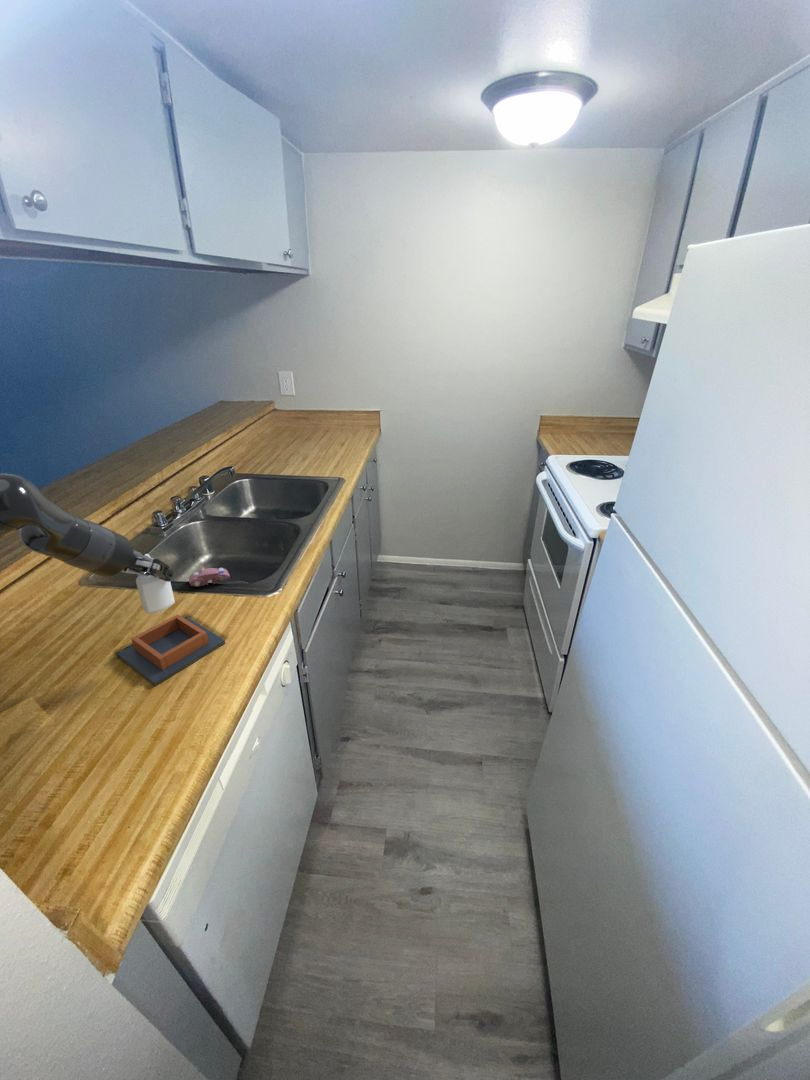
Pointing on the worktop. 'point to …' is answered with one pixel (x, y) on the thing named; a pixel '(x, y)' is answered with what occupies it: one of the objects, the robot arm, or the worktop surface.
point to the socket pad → (169, 648)
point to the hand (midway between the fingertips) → (159, 574)
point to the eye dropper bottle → (154, 593)
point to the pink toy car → (208, 576)
